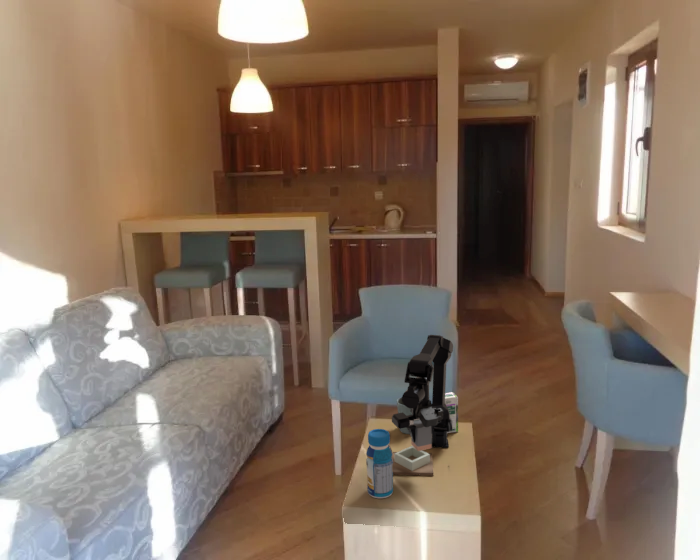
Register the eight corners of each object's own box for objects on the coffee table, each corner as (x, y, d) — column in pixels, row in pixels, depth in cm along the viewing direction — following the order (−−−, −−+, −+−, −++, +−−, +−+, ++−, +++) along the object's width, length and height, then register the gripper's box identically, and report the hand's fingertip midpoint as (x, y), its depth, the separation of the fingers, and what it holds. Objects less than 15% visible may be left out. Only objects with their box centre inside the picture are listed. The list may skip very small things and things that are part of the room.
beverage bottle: (385, 502, 172) (384, 441, 169) (362, 495, 177) (360, 435, 173) (398, 489, 179) (397, 430, 176) (375, 482, 184) (373, 425, 180)
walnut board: (392, 454, 202) (392, 451, 202) (432, 455, 200) (432, 452, 200) (391, 474, 188) (391, 471, 188) (433, 475, 187) (433, 472, 187)
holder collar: (394, 461, 195) (394, 453, 194) (412, 453, 200) (412, 445, 200) (412, 470, 188) (412, 462, 188) (430, 462, 193) (429, 454, 193)
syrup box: (444, 434, 217) (444, 398, 214) (438, 427, 222) (438, 393, 220) (458, 432, 218) (458, 396, 216) (451, 425, 224) (451, 391, 221)
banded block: (411, 444, 189) (410, 422, 187) (424, 441, 190) (424, 419, 189) (417, 451, 184) (417, 428, 183) (431, 448, 186) (431, 425, 184)
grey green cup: (414, 437, 215) (413, 407, 213) (392, 430, 221) (391, 402, 219) (427, 427, 223) (427, 399, 221) (405, 421, 229) (405, 393, 227)
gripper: (404, 410, 173) (406, 457, 176) (458, 400, 179) (458, 445, 182) (390, 397, 184) (391, 441, 187) (441, 388, 190) (441, 431, 193)
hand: (421, 440), depth 187 cm, fingers closed on banded block, 5 cm apart
